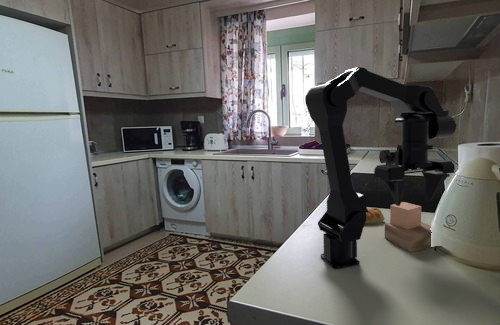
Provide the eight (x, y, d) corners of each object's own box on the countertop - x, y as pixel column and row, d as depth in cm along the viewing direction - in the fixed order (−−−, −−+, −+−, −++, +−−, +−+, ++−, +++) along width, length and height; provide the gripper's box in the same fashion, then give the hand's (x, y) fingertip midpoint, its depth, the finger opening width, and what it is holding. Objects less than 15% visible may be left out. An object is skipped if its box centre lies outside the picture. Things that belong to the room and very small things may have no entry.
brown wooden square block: (410, 252, 69) (411, 235, 69) (384, 237, 78) (384, 223, 77) (441, 246, 71) (442, 230, 71) (413, 232, 80) (413, 218, 79)
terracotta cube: (407, 229, 72) (408, 210, 72) (390, 223, 77) (390, 205, 76) (420, 225, 74) (421, 206, 74) (403, 219, 79) (403, 201, 78)
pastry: (361, 227, 86) (360, 215, 86) (346, 220, 93) (346, 209, 92) (386, 222, 89) (386, 210, 89) (370, 216, 96) (370, 204, 95)
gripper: (420, 136, 81) (418, 191, 83) (360, 141, 76) (360, 199, 79) (457, 138, 70) (454, 201, 72) (390, 144, 66) (389, 211, 68)
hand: (413, 203), depth 73 cm, fingers open, 9 cm apart
